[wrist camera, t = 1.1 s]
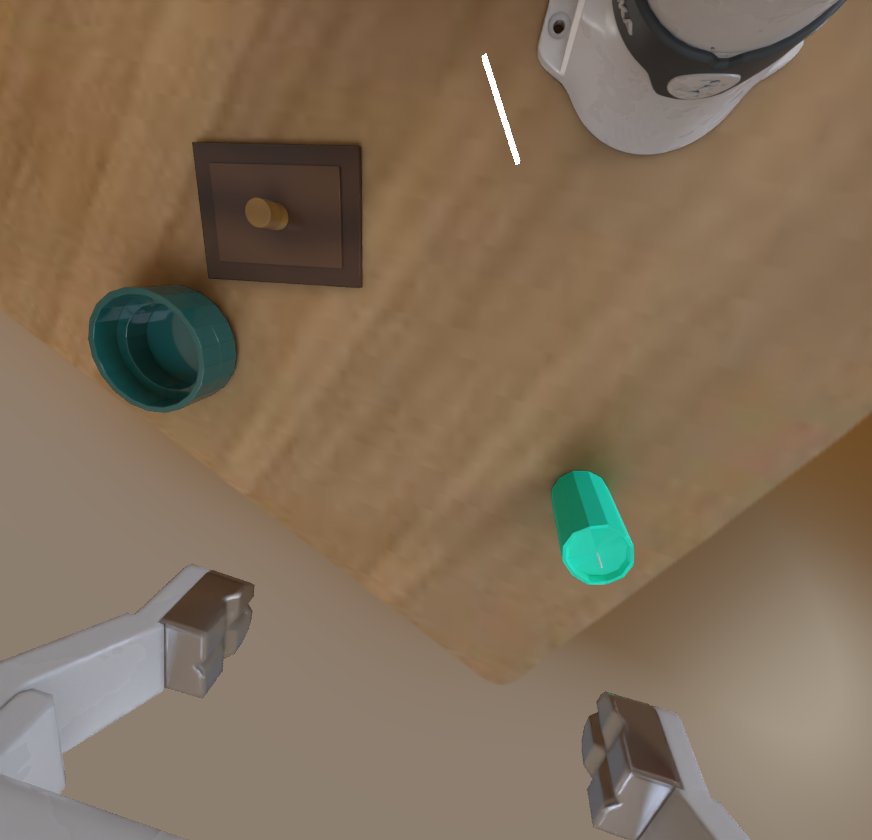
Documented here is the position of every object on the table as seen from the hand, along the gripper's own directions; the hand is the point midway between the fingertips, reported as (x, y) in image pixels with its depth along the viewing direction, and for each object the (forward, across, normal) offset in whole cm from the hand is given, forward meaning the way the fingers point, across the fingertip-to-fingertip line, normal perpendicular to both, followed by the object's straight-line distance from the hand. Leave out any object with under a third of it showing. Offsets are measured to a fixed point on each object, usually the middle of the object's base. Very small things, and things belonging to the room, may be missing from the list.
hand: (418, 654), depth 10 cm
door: (+36, +23, -7) cm, 43 cm away
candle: (+36, -14, +12) cm, 41 cm away
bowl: (+36, +32, +8) cm, 49 cm away
